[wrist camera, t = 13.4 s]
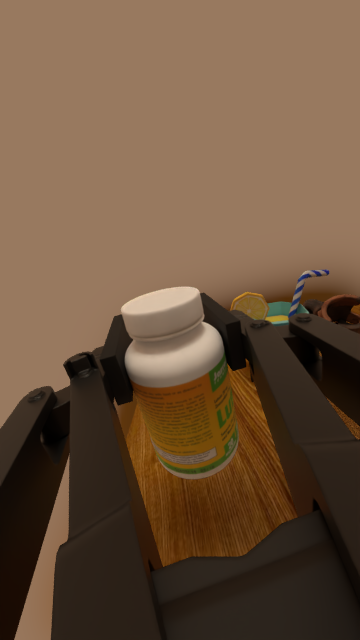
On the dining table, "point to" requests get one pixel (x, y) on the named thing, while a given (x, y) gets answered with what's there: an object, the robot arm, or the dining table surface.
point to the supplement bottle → (181, 382)
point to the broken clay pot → (336, 310)
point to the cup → (276, 311)
